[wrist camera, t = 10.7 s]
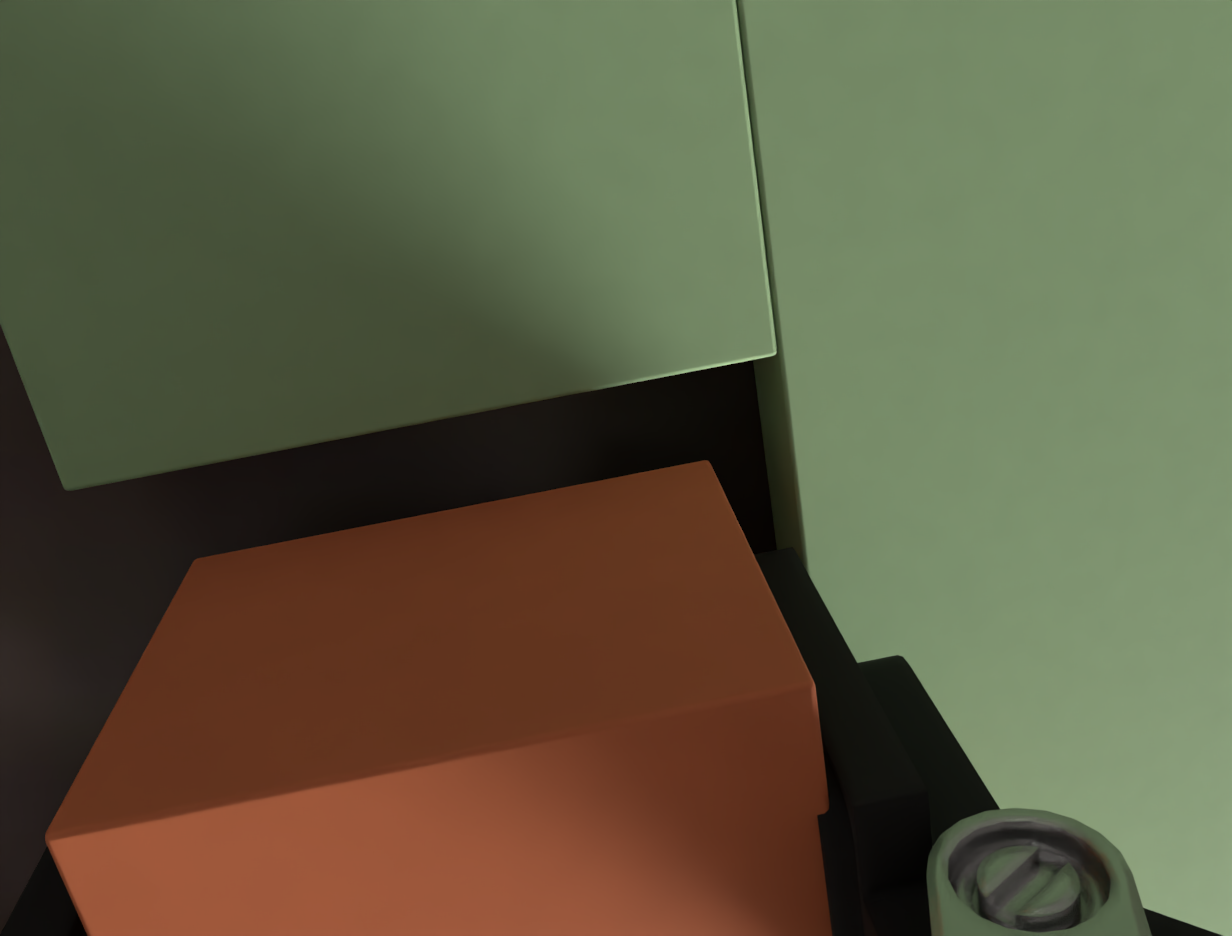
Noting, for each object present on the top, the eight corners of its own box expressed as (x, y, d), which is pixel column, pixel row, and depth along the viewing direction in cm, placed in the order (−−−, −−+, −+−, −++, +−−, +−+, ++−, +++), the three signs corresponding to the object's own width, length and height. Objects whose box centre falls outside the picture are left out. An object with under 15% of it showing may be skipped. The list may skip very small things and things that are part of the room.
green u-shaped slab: (-67, -64, 10) (-157, -74, 9) (1488, -339, 10) (1641, -393, 9) (382, 1182, 16) (371, 1292, 15) (1349, 978, 17) (1428, 1066, 15)
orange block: (192, 557, 11) (40, 837, 7) (708, 457, 11) (816, 682, 7) (330, 953, 13) (262, 1335, 9) (768, 862, 13) (878, 1204, 9)
